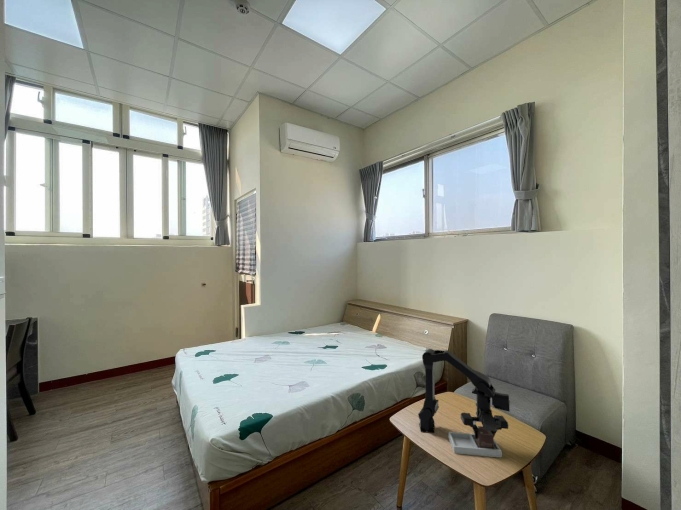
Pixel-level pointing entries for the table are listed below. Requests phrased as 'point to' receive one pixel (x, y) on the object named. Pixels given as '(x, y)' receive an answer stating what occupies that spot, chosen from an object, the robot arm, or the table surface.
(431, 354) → the robot arm
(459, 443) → the tray
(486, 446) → the box
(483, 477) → the table surface
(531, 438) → the table surface
